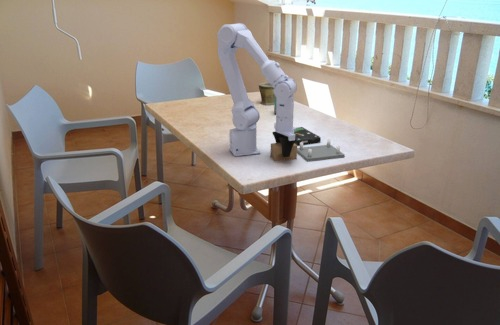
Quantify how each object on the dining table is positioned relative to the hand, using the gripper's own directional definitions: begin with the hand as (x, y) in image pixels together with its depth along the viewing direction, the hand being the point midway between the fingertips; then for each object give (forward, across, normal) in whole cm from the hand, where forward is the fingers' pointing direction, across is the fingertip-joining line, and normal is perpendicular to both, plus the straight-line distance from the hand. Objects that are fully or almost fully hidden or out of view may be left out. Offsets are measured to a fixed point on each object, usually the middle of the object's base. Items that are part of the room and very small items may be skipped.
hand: (283, 154), depth 142 cm
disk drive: (+2, +18, -14) cm, 23 cm away
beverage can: (+2, +54, -20) cm, 57 cm away
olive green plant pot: (+2, +77, -20) cm, 80 cm away
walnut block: (+2, 0, 0) cm, 2 cm away
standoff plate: (+1, 0, -14) cm, 14 cm away
